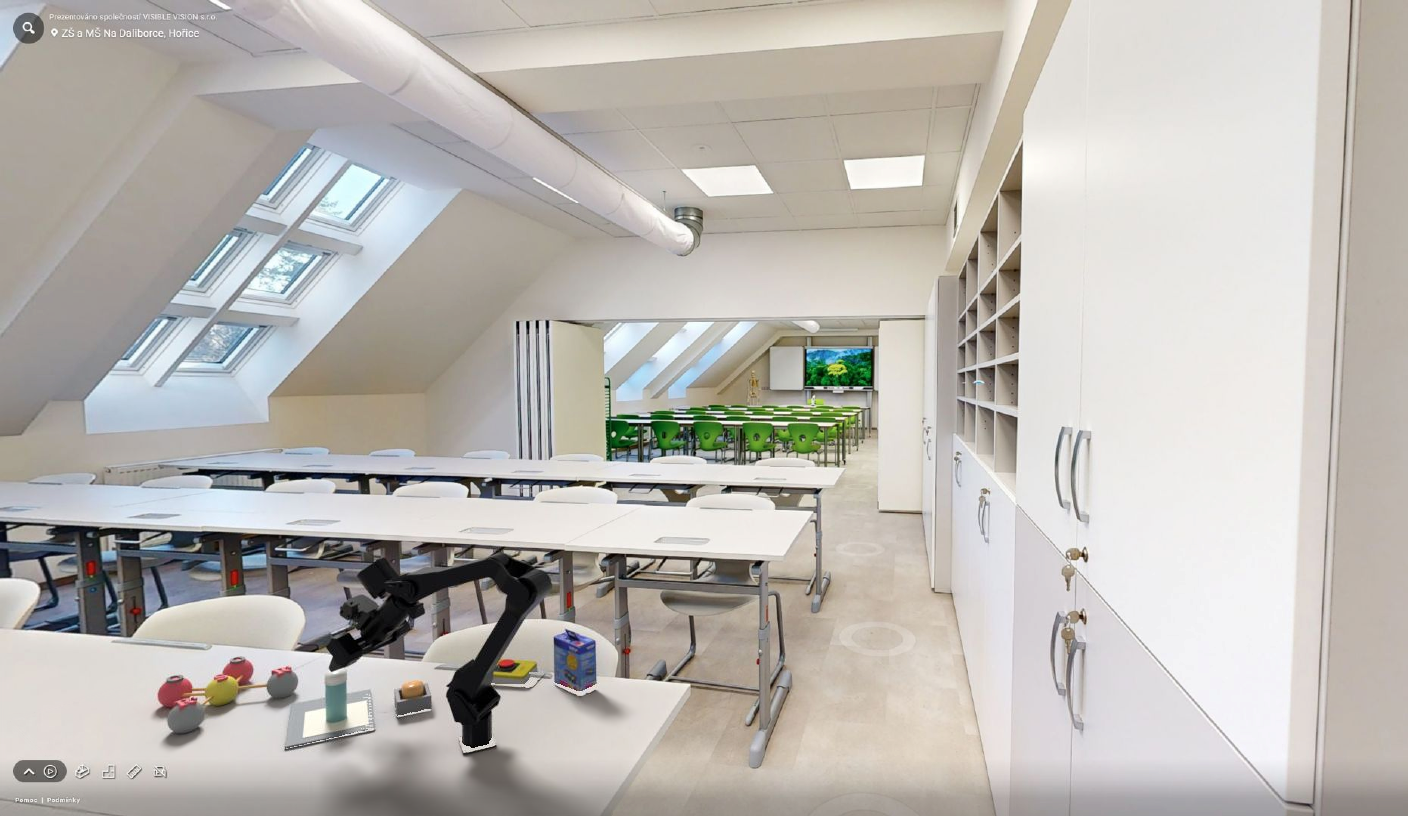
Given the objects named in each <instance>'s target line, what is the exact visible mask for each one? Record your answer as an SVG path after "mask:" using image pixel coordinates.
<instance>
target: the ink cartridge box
mask: <svg viewBox="0 0 1408 816" xmlns="http://www.w3.org/2000/svg"><path fill="white" fill-rule="evenodd" d="M564 631H565V632H563V633H560V634H557V635H555V636H553V669H554V670H553V676H554V677H553V679H554V682H555V683H557V684H561V685H563V686H565V687H569V688H571V689H574V690H576V691H583V690H585V689H587V688H589V687H592V686H593V685H595V684H598V681H597V680H598V679H597V647H596V646H597V644H596V643H597V642H596V640H595V639H593V638H591V637H588V636H584V635H580V633H577V632H576V631H572V630H570V629H568V628H564ZM554 682H553V683H554Z"/></svg>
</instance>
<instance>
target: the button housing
mask: <svg viewBox="0 0 1408 816" xmlns="http://www.w3.org/2000/svg"><path fill="white" fill-rule="evenodd" d="M393 691H394V693H393V694H394V698H393V699H394V709H395V708H396V710H395V714H397V716H398V715H404V714H407V713H410V712H411V713H412V712H418V711H421V710H424V709H432V705H433V704H432V703H433V702H432V693H431V690H430V687H429V683H428V682H427V683H423V696H419V697H414V698H409V699H404V700H402V687H400V688H395V689H394V690H393ZM397 716H396V717H397Z"/></svg>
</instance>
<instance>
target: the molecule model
mask: <svg viewBox="0 0 1408 816" xmlns="http://www.w3.org/2000/svg"><path fill="white" fill-rule="evenodd" d="M254 670H255V669H254V665H253V664H252V662H251V661H250V660H248V659H246V657H245V656H235V657H231V658H230V659H229V662H228V663H227V664H226V665H225V667H224V668H223V670H222V673H220V674H216V675H214V676H213V679H211V681H210V682H209V683H208V684H207V686H206V687H193V684H192V682H191V681H190V680H189V679H187V678H185V677H184V675H182V674H175V675H172V676H169V677H167V678H166V681H165V682H164V683H162V684H161V686H160V687H159V689H158V691H157V700H158V702H159V704H160V705H161V706H163V707H165V708H172V709H171V710H170V711H169V713H168V715H167V720H166V722H167V726H168V728H169V729H170V730H171V731H172V732H174V733H176V734H187V733H189V732H192V731H194V730H196V729H197V728H199V726H200V725H201V724H202V723H203V720H204V719H205V716H206V715H205V713H206V712H205V711H206V710H205V707H204V706H205V705H206V704H207V703H209V704H210V705H212V706H217V707H219V706H224V705H227V704H229V703H230V702H232V701H233V700H234V699H235V698H236V697H237V694H238V692H239V690H247V689H248V690H249V689H257V688H258V689H259V688H266V691H267V693H268V695H269V696H270V697H272V698H274V699H285V698H287V697H289V696H291V695H292V694H293V693H295V691H296V690H297V688H298V685H299V678H298V674H297V673H296V672H294V671H293V670H292V666H290V665H287V666H285V667H279V668H278V667H277V668H276V669H272V670H271V674H270V675H271V676H270V677H269V678H268V680H267V682H266V683H263V684H262V683H261V684H251V685H245V684H246V683H248V682H249V681H250V680H251V679H252V676H253V674H254ZM198 697H204V698H205V700H204V701H203V702H199V701H198ZM284 697H285V698H284Z"/></svg>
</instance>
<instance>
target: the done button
mask: <svg viewBox="0 0 1408 816" xmlns="http://www.w3.org/2000/svg"><path fill="white" fill-rule="evenodd" d="M423 684H424V682H423V681H422V680H411V681H407V682H405V683H403V684H402V685H401V688H402V700H404V699H409V698H414V697H419V696H423Z"/></svg>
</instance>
